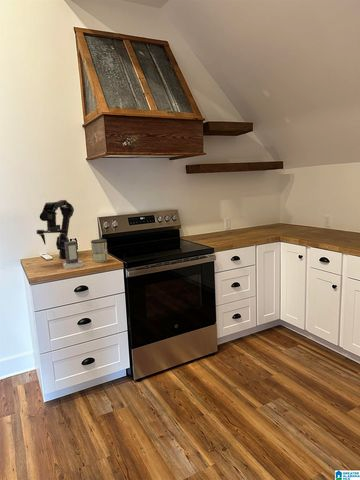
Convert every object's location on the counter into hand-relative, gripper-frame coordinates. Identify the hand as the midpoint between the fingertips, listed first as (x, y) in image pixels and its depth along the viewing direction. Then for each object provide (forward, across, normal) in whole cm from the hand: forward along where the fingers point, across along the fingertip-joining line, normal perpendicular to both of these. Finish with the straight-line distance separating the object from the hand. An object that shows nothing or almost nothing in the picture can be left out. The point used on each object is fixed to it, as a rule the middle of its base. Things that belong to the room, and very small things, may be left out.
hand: (52, 244), depth 235 cm
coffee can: (+12, +29, -10) cm, 33 cm away
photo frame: (+12, +10, -14) cm, 21 cm away
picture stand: (+14, +10, -14) cm, 22 cm away
